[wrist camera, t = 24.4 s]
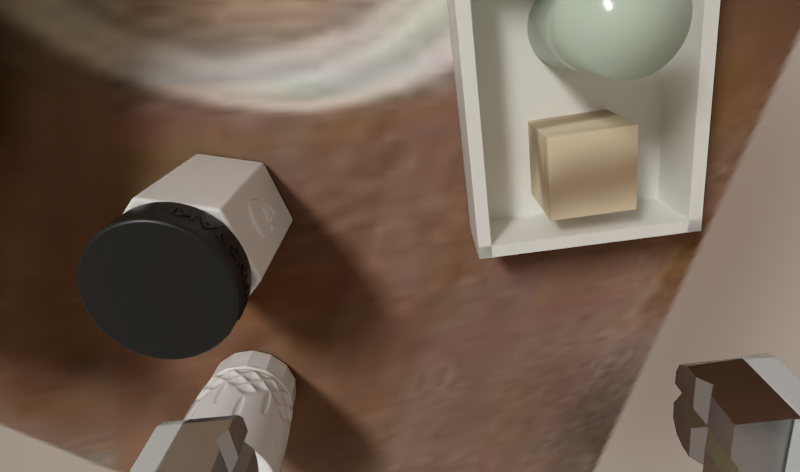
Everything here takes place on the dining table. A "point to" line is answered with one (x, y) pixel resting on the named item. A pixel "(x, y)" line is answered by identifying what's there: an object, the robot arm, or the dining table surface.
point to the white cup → (252, 402)
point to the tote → (564, 95)
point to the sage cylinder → (609, 35)
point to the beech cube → (583, 164)
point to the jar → (184, 257)
